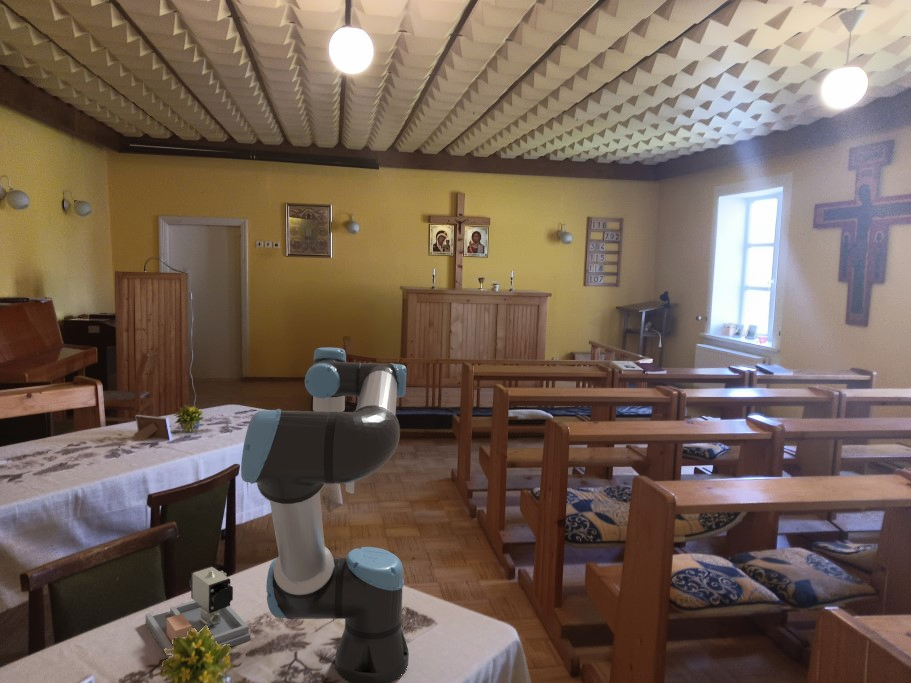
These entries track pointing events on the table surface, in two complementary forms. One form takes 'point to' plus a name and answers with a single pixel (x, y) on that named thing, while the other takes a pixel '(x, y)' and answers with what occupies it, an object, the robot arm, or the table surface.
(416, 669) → the table surface
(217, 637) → the grey tray
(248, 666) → the table surface
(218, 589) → the pneumatic valve
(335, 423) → the robot arm
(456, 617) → the table surface
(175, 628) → the tan cardboard box
